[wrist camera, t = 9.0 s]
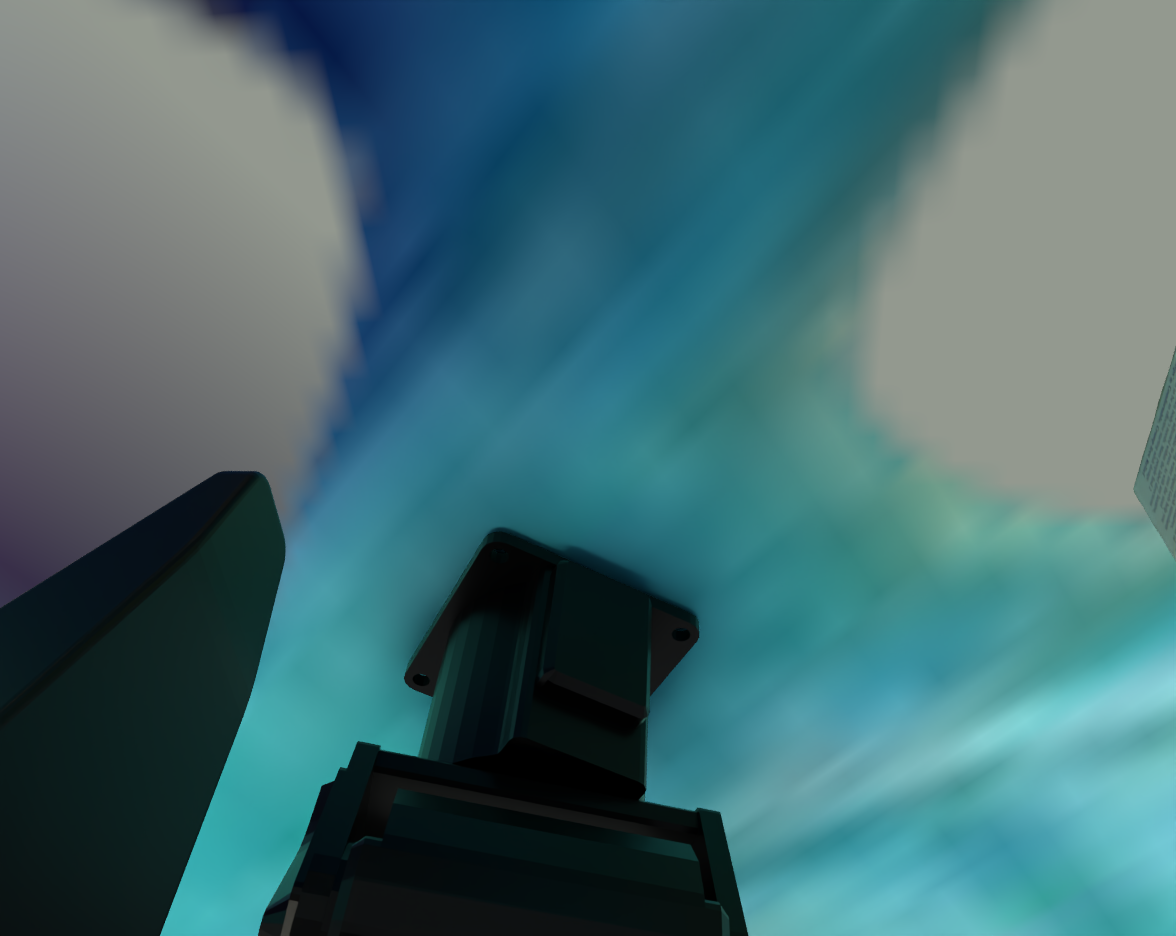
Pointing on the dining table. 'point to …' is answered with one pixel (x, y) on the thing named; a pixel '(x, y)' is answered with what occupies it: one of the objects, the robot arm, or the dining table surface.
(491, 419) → the dining table surface
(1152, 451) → the medicine box
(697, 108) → the dining table surface
